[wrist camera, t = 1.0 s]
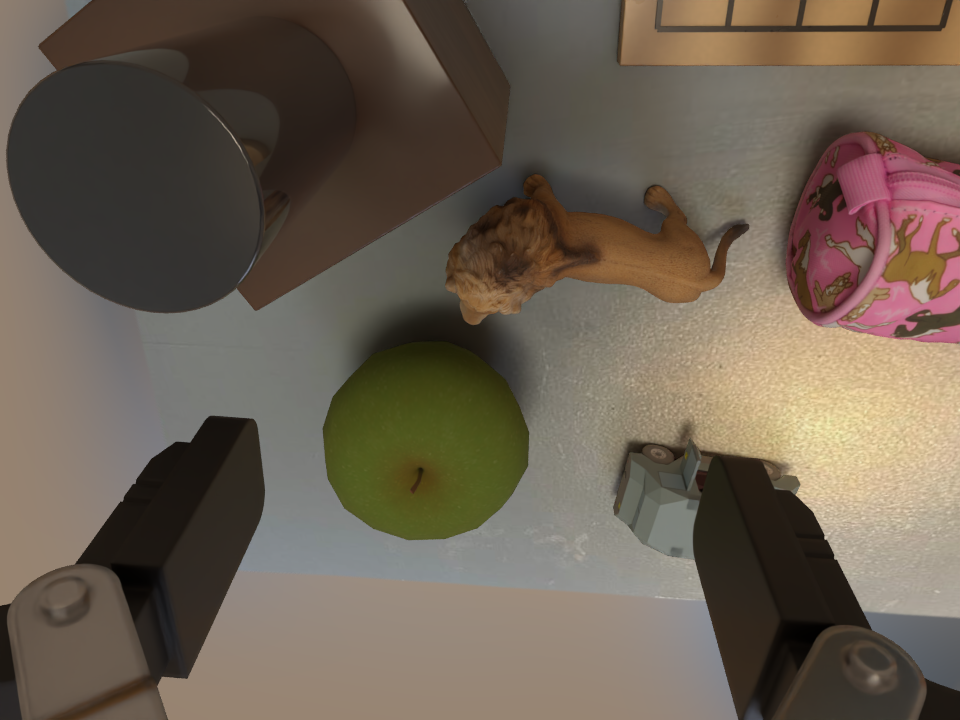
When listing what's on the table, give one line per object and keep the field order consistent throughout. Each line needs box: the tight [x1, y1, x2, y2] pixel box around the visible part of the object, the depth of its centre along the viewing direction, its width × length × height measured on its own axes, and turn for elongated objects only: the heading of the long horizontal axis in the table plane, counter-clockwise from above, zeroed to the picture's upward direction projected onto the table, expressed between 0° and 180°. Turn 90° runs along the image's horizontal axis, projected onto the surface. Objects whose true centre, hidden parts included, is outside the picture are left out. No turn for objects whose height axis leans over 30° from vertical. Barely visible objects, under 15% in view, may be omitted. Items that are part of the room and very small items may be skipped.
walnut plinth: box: [38, 0, 510, 310], centre depth 28 cm, size 10×10×14 cm
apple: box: [323, 341, 529, 540], centre depth 39 cm, size 11×10×10 cm
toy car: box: [613, 437, 800, 560], centre depth 43 cm, size 6×10×5 cm, turn 82°
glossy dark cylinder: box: [6, 16, 357, 313], centre depth 18 cm, size 5×5×9 cm
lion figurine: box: [445, 174, 749, 325], centre depth 34 cm, size 15×5×9 cm, turn 91°
